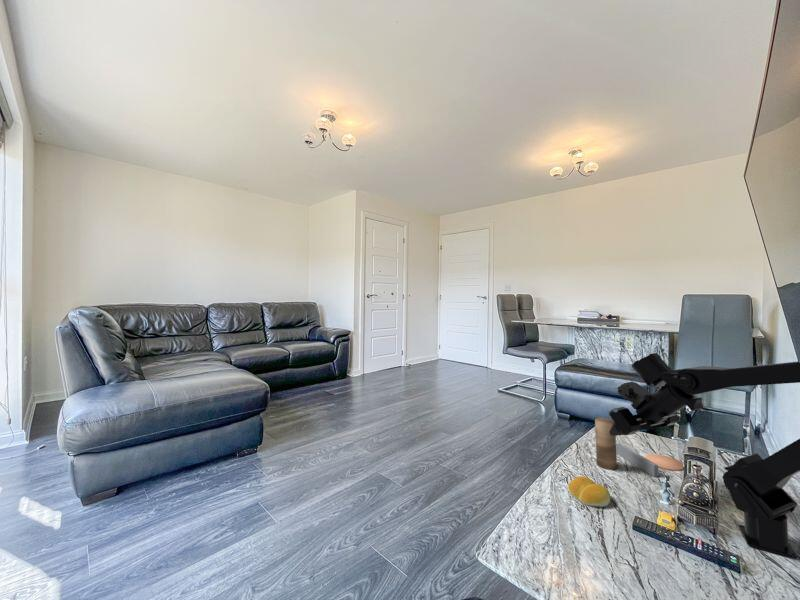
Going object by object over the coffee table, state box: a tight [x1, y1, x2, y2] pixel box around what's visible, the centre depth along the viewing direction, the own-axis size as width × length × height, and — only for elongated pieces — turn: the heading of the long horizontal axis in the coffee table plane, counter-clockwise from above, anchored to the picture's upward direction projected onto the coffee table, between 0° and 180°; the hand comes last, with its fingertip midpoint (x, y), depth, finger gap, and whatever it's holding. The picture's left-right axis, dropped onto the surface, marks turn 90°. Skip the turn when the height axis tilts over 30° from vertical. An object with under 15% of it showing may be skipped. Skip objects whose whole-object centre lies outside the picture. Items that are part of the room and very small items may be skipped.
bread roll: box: [567, 476, 611, 508], centre depth 81 cm, size 8×9×4 cm
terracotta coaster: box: [644, 454, 684, 472], centre depth 96 cm, size 9×9×1 cm
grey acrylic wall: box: [616, 443, 659, 478], centre depth 96 cm, size 14×1×3 cm, turn 4°
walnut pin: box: [594, 417, 618, 471], centre depth 96 cm, size 5×5×13 cm
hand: (622, 431), depth 91 cm, fingers open, 9 cm apart
